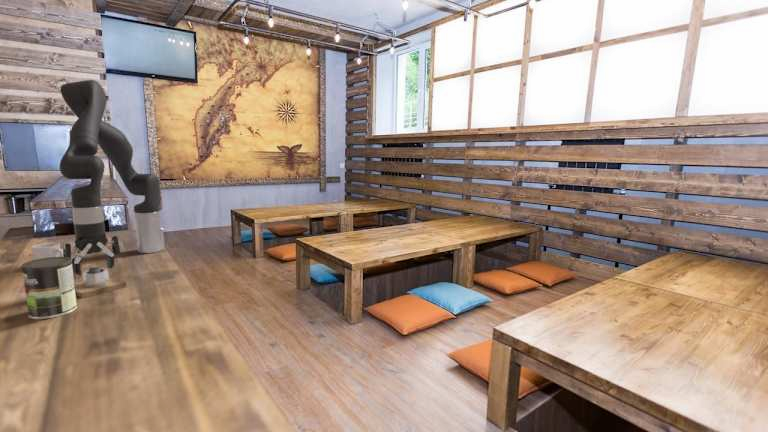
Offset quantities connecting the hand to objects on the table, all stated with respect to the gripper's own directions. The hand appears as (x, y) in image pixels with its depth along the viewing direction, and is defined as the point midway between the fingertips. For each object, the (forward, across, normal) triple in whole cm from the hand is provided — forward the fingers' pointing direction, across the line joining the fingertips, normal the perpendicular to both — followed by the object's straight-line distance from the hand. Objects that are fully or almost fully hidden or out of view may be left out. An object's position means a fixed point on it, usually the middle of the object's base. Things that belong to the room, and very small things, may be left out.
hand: (94, 271), depth 122 cm
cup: (+6, 0, -39) cm, 39 cm away
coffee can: (+6, +14, +11) cm, 19 cm away
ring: (+4, 0, 0) cm, 4 cm away
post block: (+6, 0, 0) cm, 6 cm away
